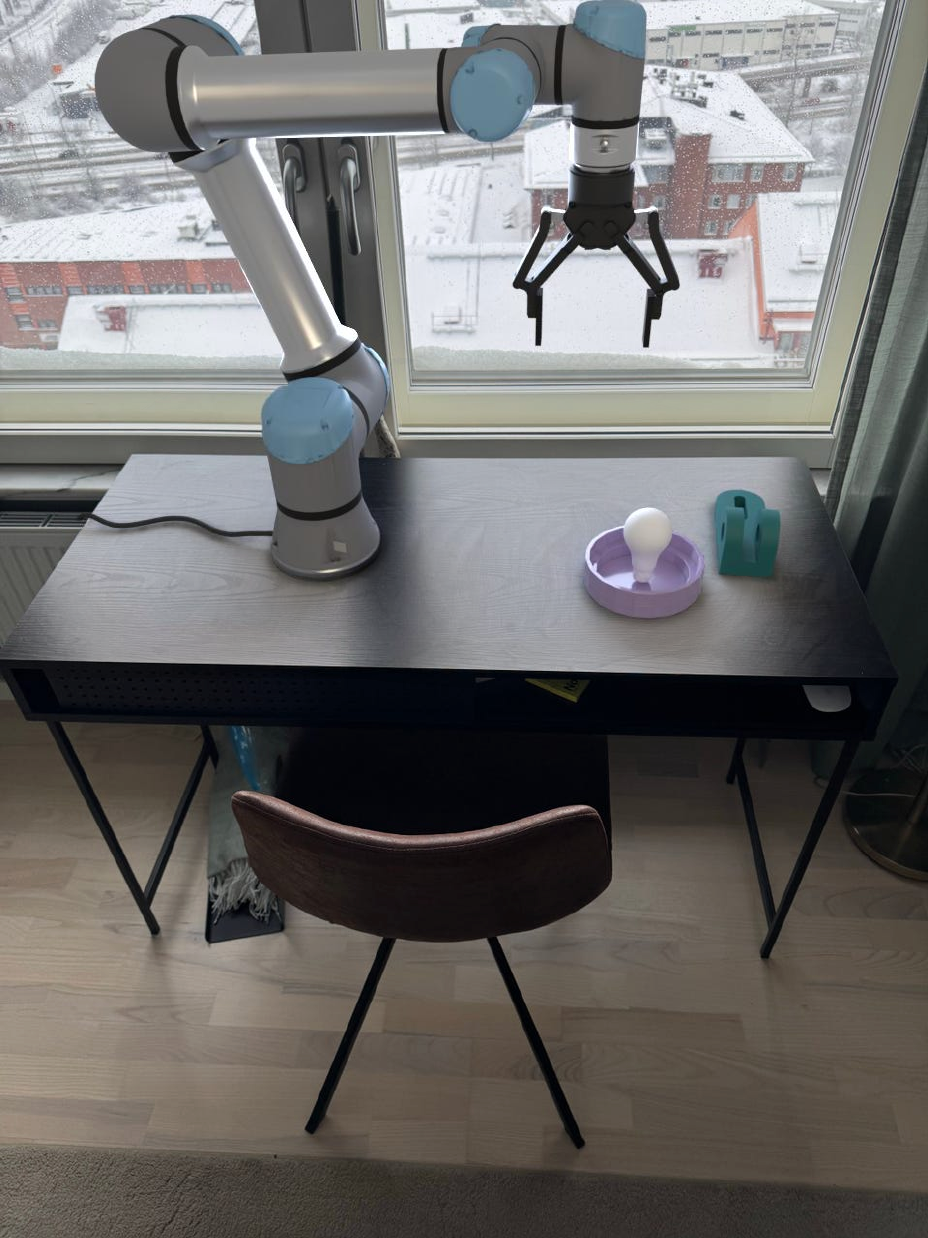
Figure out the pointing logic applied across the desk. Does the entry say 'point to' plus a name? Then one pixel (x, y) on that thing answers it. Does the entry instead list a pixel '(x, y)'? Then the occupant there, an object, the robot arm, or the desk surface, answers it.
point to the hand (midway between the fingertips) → (591, 342)
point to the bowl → (658, 597)
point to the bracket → (745, 534)
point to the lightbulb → (646, 540)
